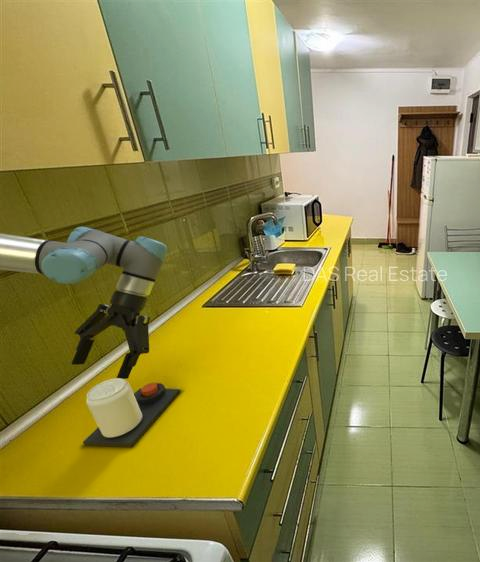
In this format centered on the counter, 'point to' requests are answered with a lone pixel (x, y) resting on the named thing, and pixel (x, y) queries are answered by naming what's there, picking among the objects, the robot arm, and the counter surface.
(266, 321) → the counter surface
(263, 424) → the counter surface
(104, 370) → the counter surface
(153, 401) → the warming base
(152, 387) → the button
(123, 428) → the beverage can
